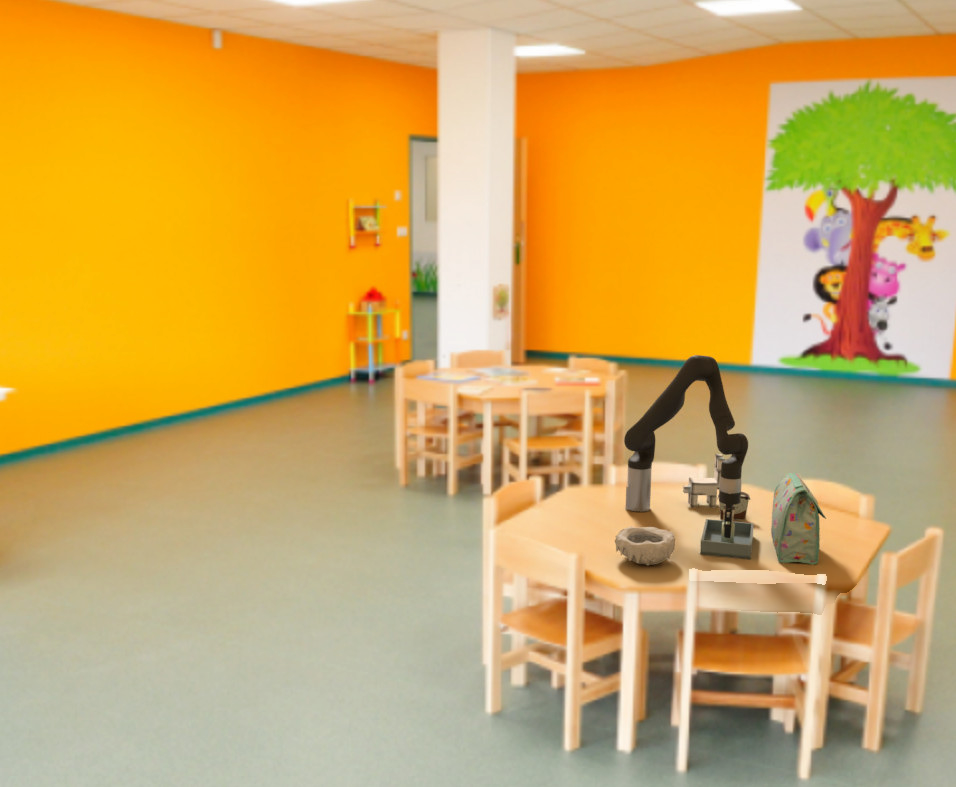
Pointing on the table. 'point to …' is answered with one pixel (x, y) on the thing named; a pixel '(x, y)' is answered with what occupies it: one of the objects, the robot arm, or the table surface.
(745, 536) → the bin
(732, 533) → the sage cylinder
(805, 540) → the lunch bag
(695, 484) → the toy llama
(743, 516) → the food container
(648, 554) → the bowl
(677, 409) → the robot arm
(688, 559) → the table surface
